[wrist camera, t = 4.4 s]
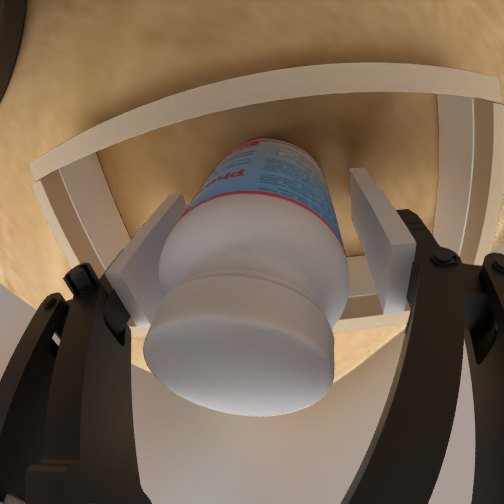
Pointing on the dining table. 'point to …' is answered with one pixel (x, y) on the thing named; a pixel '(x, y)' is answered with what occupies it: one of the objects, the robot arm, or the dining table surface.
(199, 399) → the pill bottle
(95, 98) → the dining table surface
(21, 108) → the dining table surface
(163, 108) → the beige frame
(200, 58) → the dining table surface
